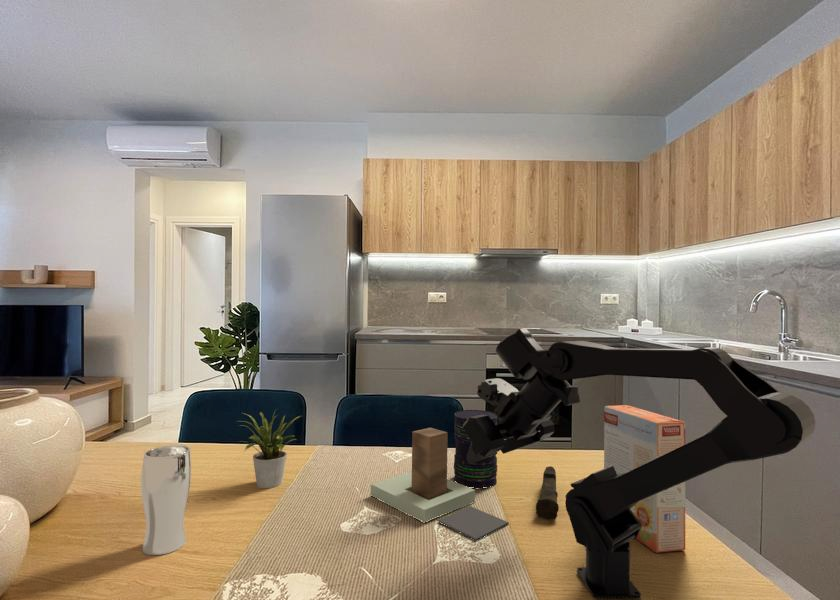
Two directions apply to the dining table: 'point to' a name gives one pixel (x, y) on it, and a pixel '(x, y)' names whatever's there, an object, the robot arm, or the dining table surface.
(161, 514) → the beer glass
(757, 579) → the dining table surface
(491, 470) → the storage jar
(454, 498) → the square socket block
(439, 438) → the wooden block
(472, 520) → the rubber mat
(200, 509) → the dining table surface
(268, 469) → the house plant
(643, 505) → the cracker box
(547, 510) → the hand tool
